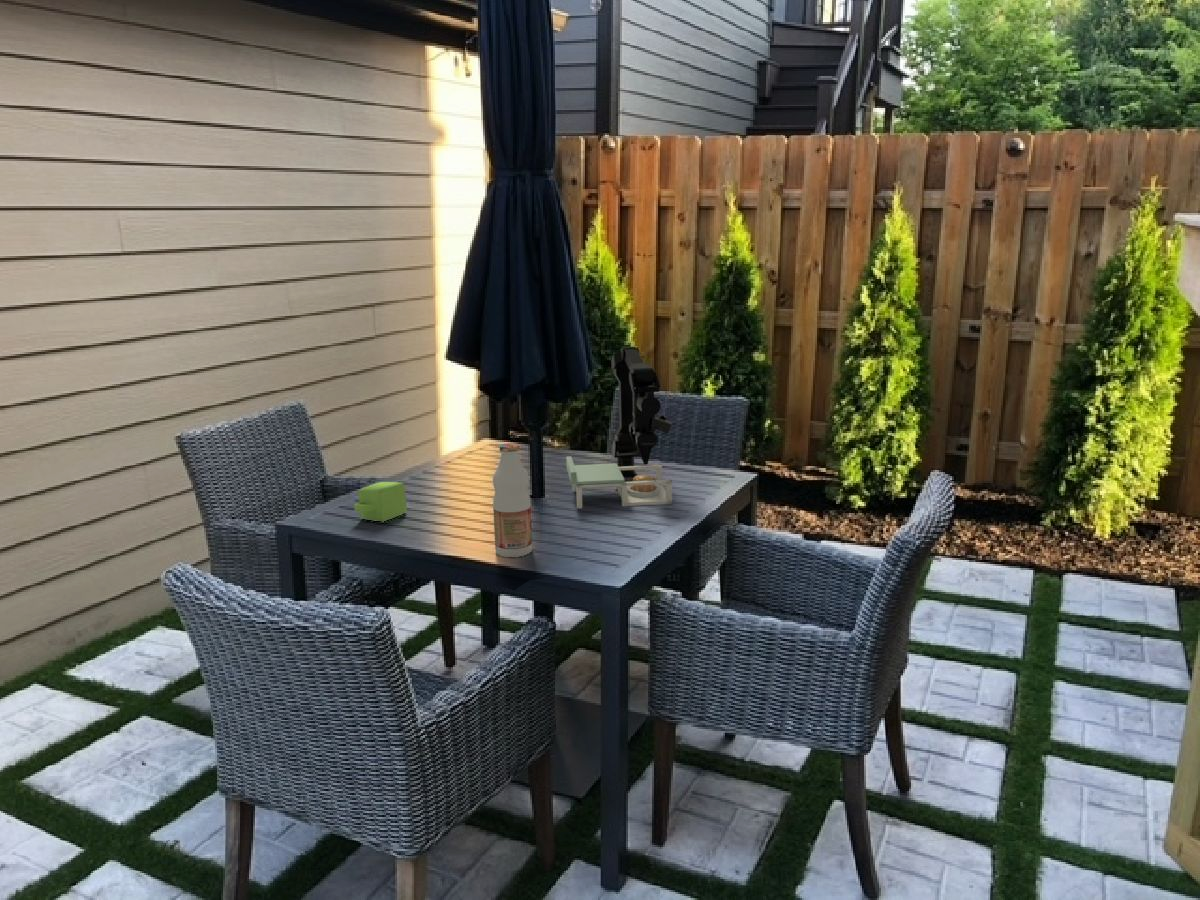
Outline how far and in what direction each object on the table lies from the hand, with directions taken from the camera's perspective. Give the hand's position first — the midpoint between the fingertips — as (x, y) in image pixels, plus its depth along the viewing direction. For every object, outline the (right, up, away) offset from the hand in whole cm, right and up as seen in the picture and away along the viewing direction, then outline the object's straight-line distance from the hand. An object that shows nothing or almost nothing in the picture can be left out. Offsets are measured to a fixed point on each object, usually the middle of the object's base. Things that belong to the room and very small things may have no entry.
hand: (643, 460), depth 286 cm
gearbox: (-76, -16, -11) cm, 78 cm away
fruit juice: (-35, -23, -43) cm, 60 cm away
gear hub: (0, -10, +3) cm, 10 cm away
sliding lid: (-15, -4, 0) cm, 15 cm away
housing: (-7, -11, +2) cm, 13 cm away
